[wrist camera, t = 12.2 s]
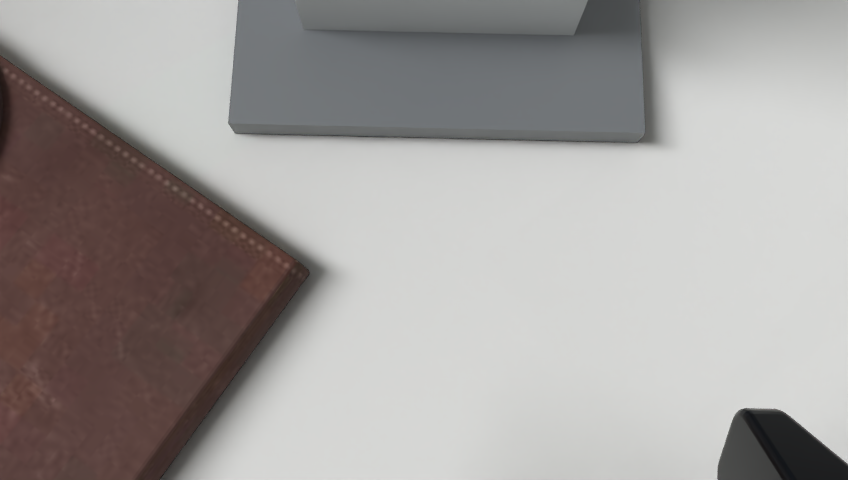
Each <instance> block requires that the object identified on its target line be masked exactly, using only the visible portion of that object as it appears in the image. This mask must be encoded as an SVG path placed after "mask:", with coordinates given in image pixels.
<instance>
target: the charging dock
mask: <svg viewBox="0 0 848 480" xmlns="http://www.w3.org/2000/svg"><path fill="white" fill-rule="evenodd" d="M228 124H229V125H230V127H231V128H232V130H233V131H234V133H249V134H293V135H337V136H380V137H424V138H468V139H512V140H556V141H600V142H638V141H639V140H640V139H641V138H642V136H643V135H644V134H645V115H644V91H643V67H642V43H641V18H640V0H238V12H237V24H236V36H235V48H234V60H233V73H232V85H231V97H230V109H229V121H228Z"/></svg>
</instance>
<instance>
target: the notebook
mask: <svg viewBox="0 0 848 480" xmlns="http://www.w3.org/2000/svg"><path fill="white" fill-rule="evenodd" d="M308 275H309V270H308V269H307V268H306V267H304V266H303V265H302V264H301V263H300V262H298V261H297V260H296V259H294V258H293V257H292V256H290V255H289V254H287V253H286V252H284V251H283V250H281V249H280V248H279V247H277V246H276V245H274V244H273V243H271V242H270V241H268V240H267V239H265V238H264V237H263V236H261V235H260V234H258V233H257V232H255V231H254V230H252V229H251V228H250V227H248V226H247V225H245V224H244V223H242V222H241V221H239V220H238V219H237V218H235V217H234V216H232V215H231V214H229V213H228V212H226V211H225V210H223V209H222V208H221V207H219V206H218V205H216V204H215V203H213V202H212V201H210V200H209V199H208V198H206V197H205V196H203V195H202V194H200V193H199V192H197V191H196V190H194V189H193V188H192V187H190V186H189V185H187V184H186V183H184V182H183V181H181V180H180V179H179V178H177V177H176V176H174V175H173V174H171V173H170V172H168V171H167V170H166V169H164V168H163V167H161V166H160V165H158V164H157V163H155V162H154V161H152V160H151V159H150V158H148V157H147V156H145V155H144V154H142V153H141V152H139V151H138V150H137V149H135V148H134V147H132V146H131V145H129V144H128V143H126V142H125V141H124V140H122V139H121V138H119V137H118V136H116V135H115V134H113V133H112V132H110V131H109V130H108V129H106V128H105V127H103V126H102V125H100V124H99V123H97V122H96V121H95V120H93V119H92V118H90V117H89V116H87V115H86V114H84V113H83V112H81V111H80V110H79V109H77V108H76V107H74V106H73V105H71V104H70V103H68V102H67V101H66V100H64V99H63V98H61V97H60V96H58V95H57V94H55V93H54V92H53V91H51V90H50V89H48V88H47V87H45V86H44V85H42V84H41V83H39V82H38V81H37V80H35V79H34V78H32V77H31V76H29V75H28V74H26V73H25V72H24V71H22V70H21V69H19V68H18V67H16V66H15V65H13V64H12V63H10V62H9V61H8V60H6V59H5V58H3V57H2V56H0V480H159V479H160V478H161V477H162V475H163V474H164V473H165V471H166V470H167V468H168V467H169V466H170V464H171V463H172V462H173V460H174V459H175V457H176V456H177V455H178V453H179V452H180V451H181V449H182V448H183V446H184V445H185V444H186V442H187V441H188V440H189V438H190V437H191V435H192V434H193V433H194V431H195V430H196V429H197V427H198V426H199V424H200V423H201V422H202V420H203V419H204V418H205V416H206V415H207V413H208V412H209V411H210V409H211V408H212V407H213V405H214V404H215V402H216V401H217V400H218V398H219V397H220V396H221V394H222V393H223V391H224V390H225V389H226V387H227V386H228V385H229V383H230V382H231V380H232V379H233V378H234V376H235V375H236V374H237V372H238V371H239V369H240V368H241V367H242V365H243V364H244V363H245V361H246V360H247V358H248V357H249V356H250V354H251V353H252V352H253V350H254V349H255V347H256V346H257V345H258V343H259V342H260V341H261V339H262V338H263V336H264V335H265V334H266V332H267V331H268V330H269V328H270V327H271V325H272V324H273V323H274V321H275V320H276V319H277V317H278V316H279V314H280V313H281V312H282V310H283V309H284V308H285V306H286V305H287V304H288V302H289V301H290V299H291V298H292V297H293V295H294V294H295V293H296V291H297V290H298V288H299V287H300V286H301V284H302V283H303V282H304V280H305V279H306V277H307V276H308Z"/></svg>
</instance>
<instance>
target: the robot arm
mask: <svg viewBox="0 0 848 480" xmlns="http://www.w3.org/2000/svg"><path fill="white" fill-rule="evenodd" d="M717 478H718V480H848V464H847V463H846V462H845V461H843V460H842V459H841V458H840V457H839V456H837V455H836V454H835V453H834V452H833V451H831V450H830V449H829V448H828V447H826V446H825V445H824V444H823V443H822V442H820V441H819V440H818V439H817V438H816V437H814V436H813V435H812V434H811V433H809V432H808V431H807V430H806V429H805V428H803V427H802V426H801V425H800V424H799V423H797V422H796V421H795V420H794V419H792V418H791V417H790V416H789V415H787V414H786V413H784V412H783V411H781V410H777V409H755V408H744V409H741V410H739V411H738V412H737V413H736V414H735V416H734V418H733V420H732V423H731V426H730V429H729V432H728V435H727V438H726V442H725V445H724V448H723V451H722V454H721V457H720V460H719V464H718V476H717Z"/></svg>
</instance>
